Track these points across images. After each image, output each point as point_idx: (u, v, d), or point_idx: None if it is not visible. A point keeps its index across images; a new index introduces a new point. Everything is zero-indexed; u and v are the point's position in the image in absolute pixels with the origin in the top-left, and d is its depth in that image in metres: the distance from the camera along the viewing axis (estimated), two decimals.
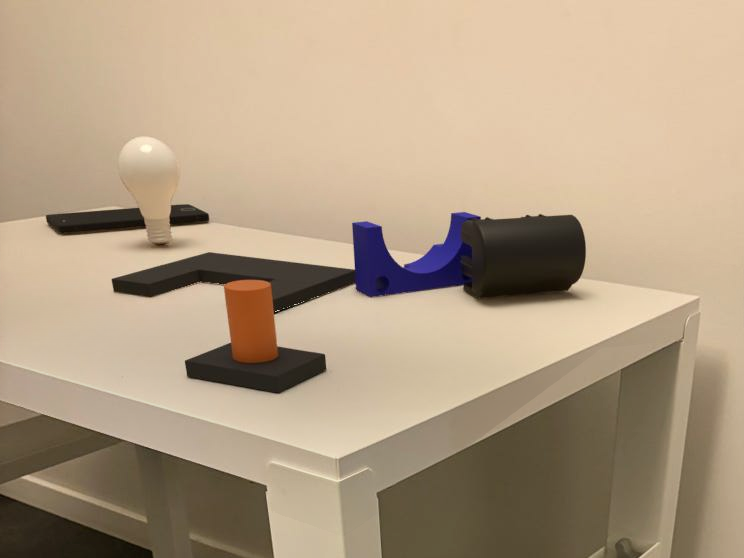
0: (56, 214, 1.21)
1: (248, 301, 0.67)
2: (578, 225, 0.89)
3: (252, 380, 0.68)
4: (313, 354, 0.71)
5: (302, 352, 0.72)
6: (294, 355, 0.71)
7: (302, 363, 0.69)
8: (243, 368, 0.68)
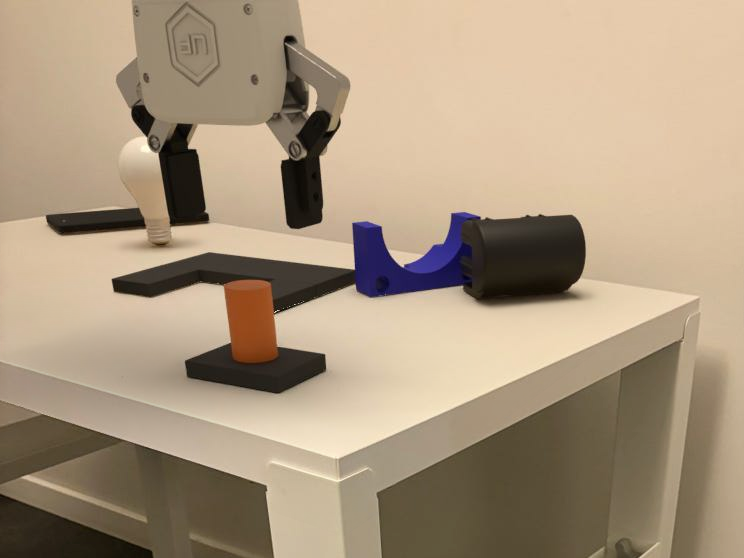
0: (56, 214, 1.21)
1: (248, 301, 0.67)
2: (578, 225, 0.89)
3: (252, 380, 0.68)
4: (313, 354, 0.71)
5: (302, 352, 0.72)
6: (294, 355, 0.71)
7: (302, 363, 0.69)
8: (243, 368, 0.68)
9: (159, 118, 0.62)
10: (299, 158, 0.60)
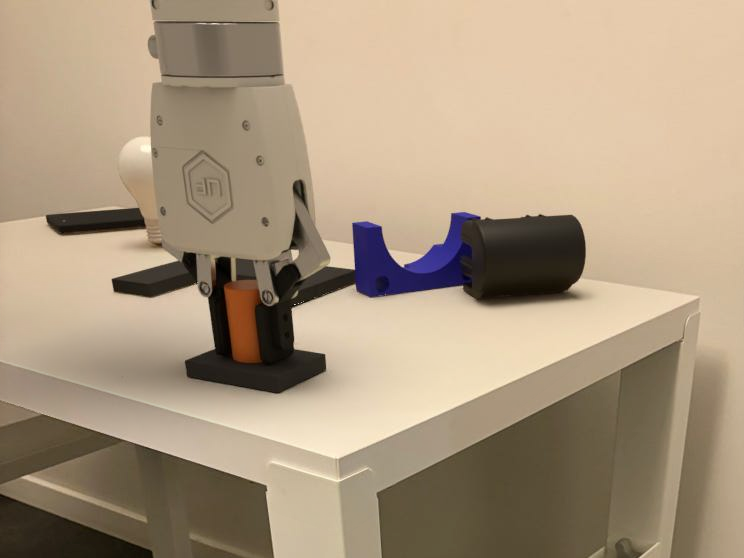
0: (56, 214, 1.21)
1: (248, 301, 0.67)
2: (578, 225, 0.89)
3: (252, 380, 0.68)
4: (313, 354, 0.71)
5: (302, 352, 0.72)
6: (294, 355, 0.71)
7: (302, 363, 0.69)
8: (243, 368, 0.68)
9: (174, 247, 0.66)
10: (271, 304, 0.66)
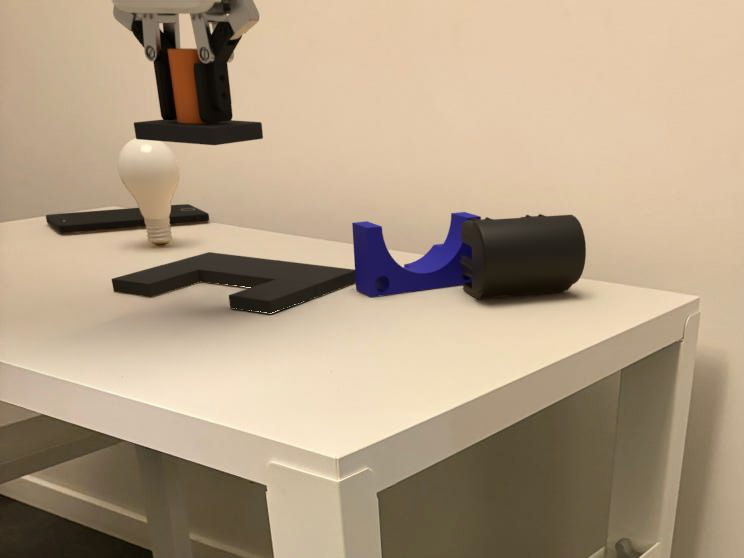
0: (56, 214, 1.21)
1: (188, 61, 0.75)
2: (578, 225, 0.89)
3: (192, 135, 0.76)
4: (250, 122, 0.79)
5: (241, 121, 0.79)
6: (233, 122, 0.79)
7: (238, 124, 0.77)
8: (184, 125, 0.76)
9: (122, 8, 0.74)
10: (208, 61, 0.74)
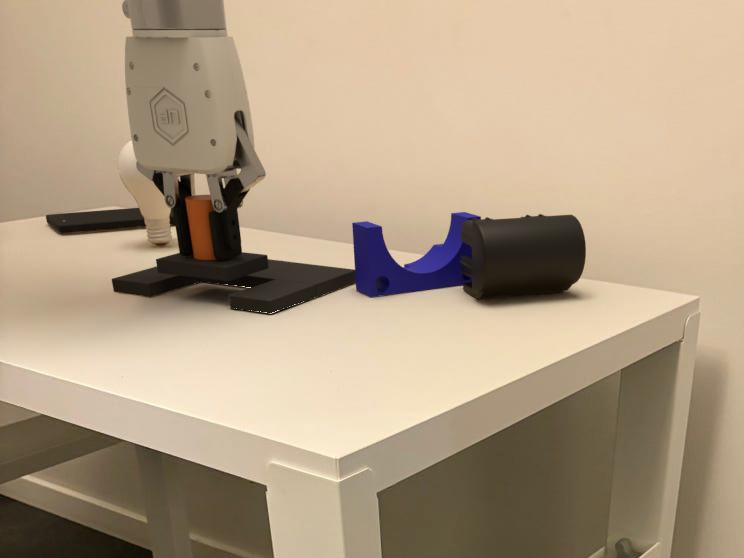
0: (56, 214, 1.21)
1: (204, 209, 0.86)
2: (578, 225, 0.89)
3: (208, 272, 0.87)
4: (257, 255, 0.90)
5: (249, 254, 0.91)
6: (242, 255, 0.90)
7: (248, 260, 0.88)
8: (201, 263, 0.87)
9: (145, 166, 0.85)
10: (221, 211, 0.85)
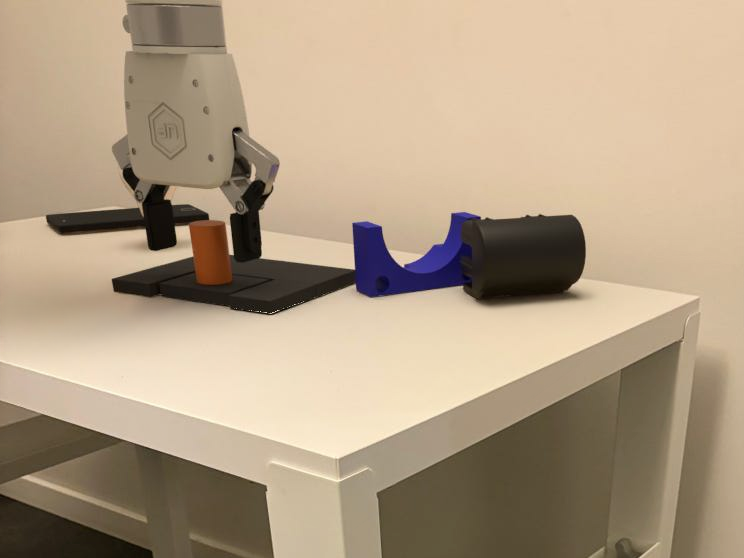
0: (56, 214, 1.21)
1: (207, 235, 0.87)
2: (578, 225, 0.89)
3: (211, 297, 0.88)
4: (260, 279, 0.91)
5: (251, 278, 0.92)
6: (245, 280, 0.91)
7: (250, 285, 0.89)
8: (204, 288, 0.88)
9: (142, 180, 0.85)
10: (243, 213, 0.84)
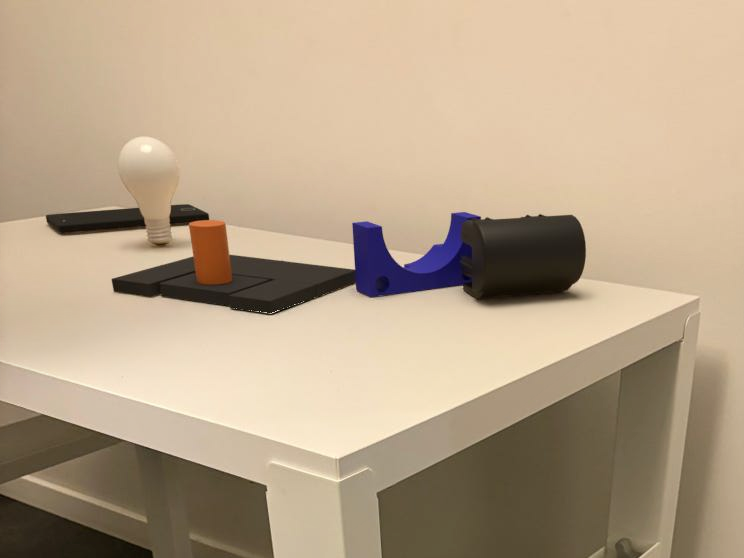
0: (56, 214, 1.21)
1: (207, 235, 0.87)
2: (578, 225, 0.89)
3: (211, 297, 0.88)
4: (260, 279, 0.91)
5: (251, 278, 0.92)
6: (245, 280, 0.91)
7: (250, 285, 0.89)
8: (204, 288, 0.88)
9: None
10: None
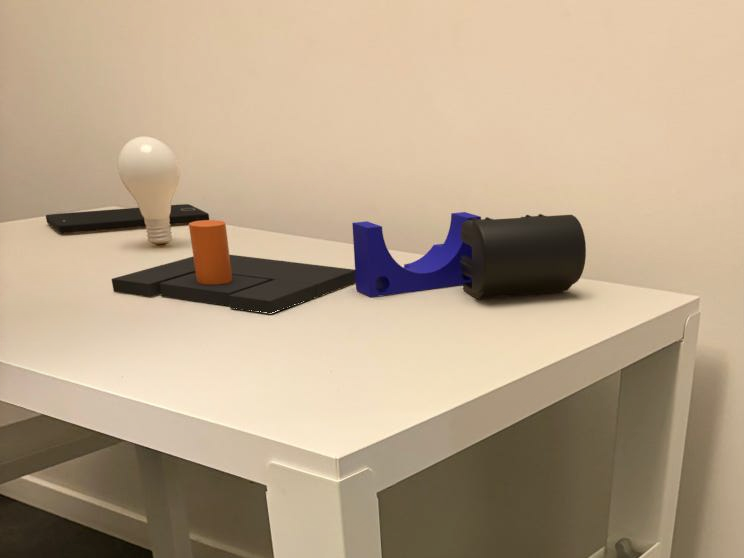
0: (56, 214, 1.21)
1: (207, 235, 0.87)
2: (578, 225, 0.89)
3: (211, 297, 0.88)
4: (260, 279, 0.91)
5: (251, 278, 0.92)
6: (245, 280, 0.91)
7: (250, 285, 0.89)
8: (204, 288, 0.88)
9: None
10: None
